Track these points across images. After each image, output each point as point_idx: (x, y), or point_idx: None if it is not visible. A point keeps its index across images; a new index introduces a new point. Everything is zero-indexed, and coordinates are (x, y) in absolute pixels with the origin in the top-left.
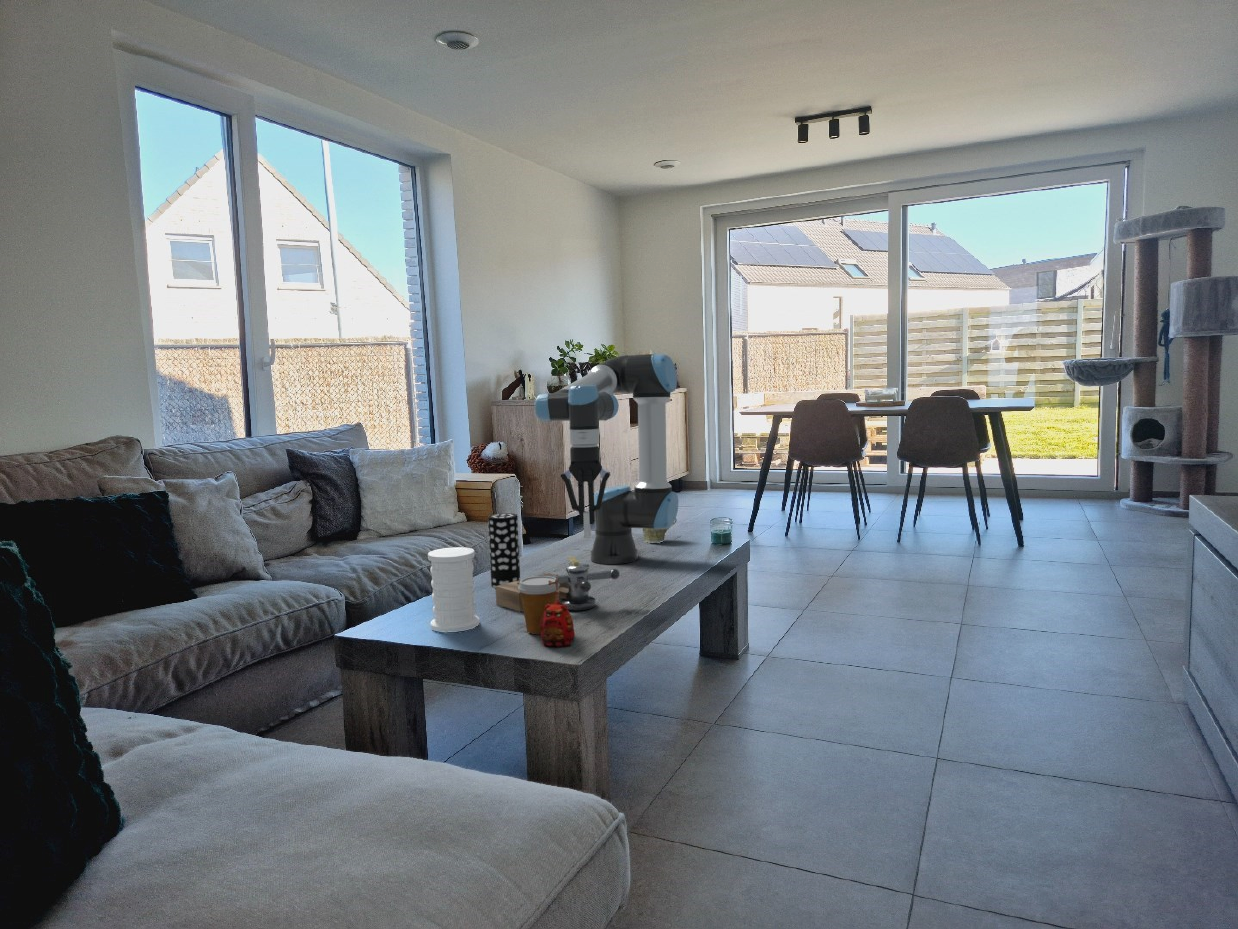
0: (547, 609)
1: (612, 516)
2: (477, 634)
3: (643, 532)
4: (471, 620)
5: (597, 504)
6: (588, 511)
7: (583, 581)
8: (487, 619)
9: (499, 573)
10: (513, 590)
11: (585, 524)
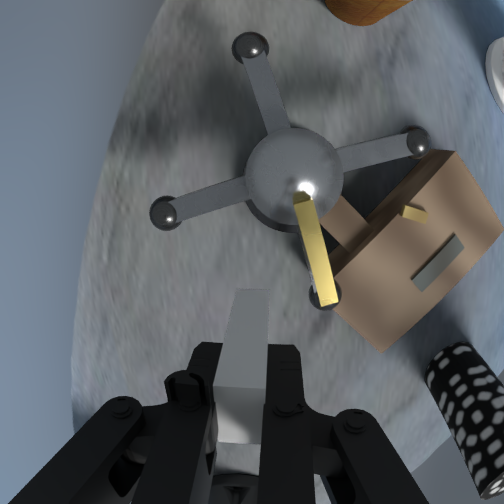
0: None
1: None
2: (469, 15)
3: None
4: (500, 57)
5: (116, 429)
6: (228, 427)
7: (259, 69)
8: (481, 107)
9: (479, 360)
10: (469, 178)
11: (255, 330)
